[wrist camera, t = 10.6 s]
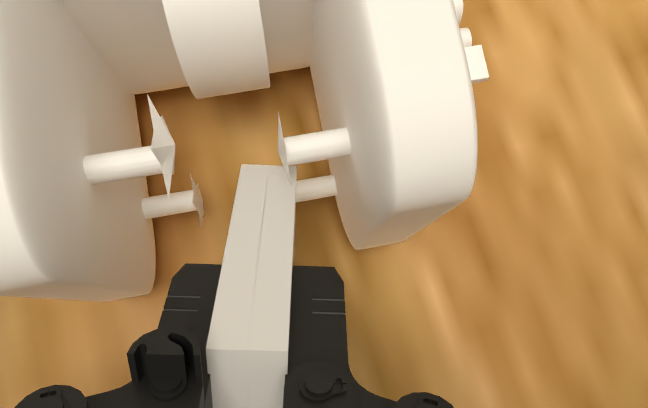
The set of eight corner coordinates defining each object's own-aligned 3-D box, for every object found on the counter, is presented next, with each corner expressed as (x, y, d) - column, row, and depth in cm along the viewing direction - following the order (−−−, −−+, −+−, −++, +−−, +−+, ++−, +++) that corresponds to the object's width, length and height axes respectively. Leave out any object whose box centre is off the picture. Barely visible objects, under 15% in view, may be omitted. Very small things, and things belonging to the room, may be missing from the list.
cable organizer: (69, -78, 24) (-142, -442, 12) (334, -114, 25) (367, -487, 13) (118, 304, 21) (-89, 295, 10) (411, 250, 22) (535, 183, 11)
